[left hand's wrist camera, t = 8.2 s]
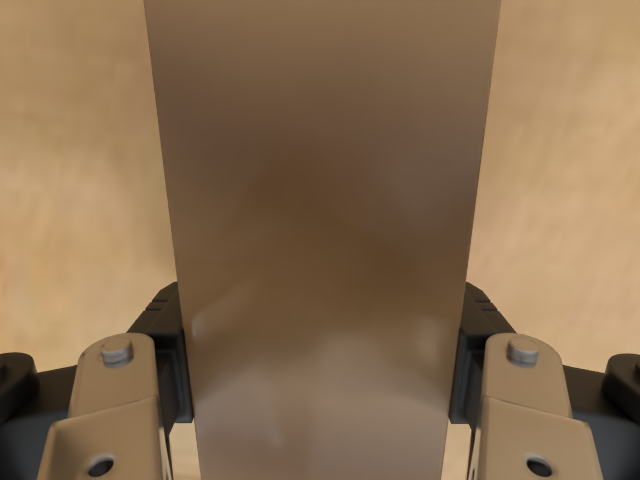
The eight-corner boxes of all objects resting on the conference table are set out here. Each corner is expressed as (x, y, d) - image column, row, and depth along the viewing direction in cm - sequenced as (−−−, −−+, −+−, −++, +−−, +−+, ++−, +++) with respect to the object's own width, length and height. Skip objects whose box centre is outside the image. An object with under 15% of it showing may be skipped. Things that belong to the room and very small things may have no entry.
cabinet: (229, -221, 12) (24, -972, 4) (411, -221, 12) (624, -964, 4) (259, 334, 18) (207, 534, 10) (381, 334, 18) (435, 533, 10)
